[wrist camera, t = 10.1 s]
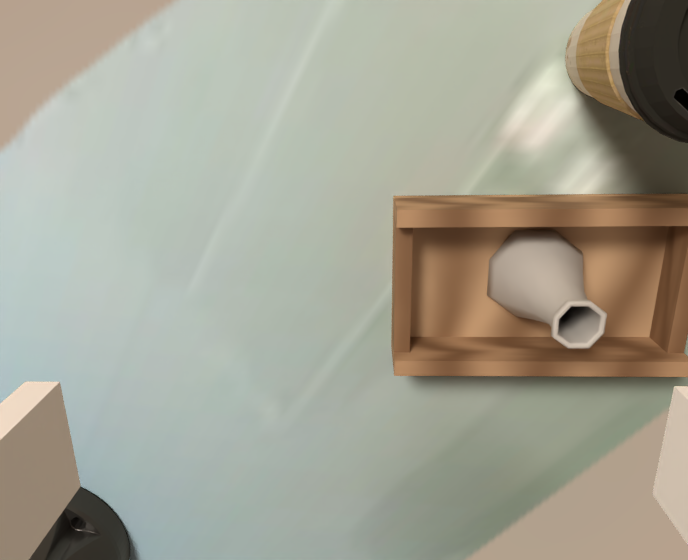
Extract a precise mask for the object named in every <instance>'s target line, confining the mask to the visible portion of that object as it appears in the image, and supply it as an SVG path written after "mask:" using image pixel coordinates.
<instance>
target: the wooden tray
mask: <svg viewBox="0 0 688 560" xmlns="http://www.w3.org/2000/svg"><path fill="white" fill-rule="evenodd" d="M514 230H555V231H556V232H558V233H559V234H560V235H561V236H563V237H564V238H565V239H567V240H568V241H569V242H570V243H572V244H573V245H574V246H576V247H577V248H578V249H580V250H581V251H582V252H583V282H584V292H585V294H586V296H587V299H588V300H590V301H591V302H593V303H594V304H595V305H597V306H598V307H599V308H601V309H602V310H603V311H605V312H606V313H607V318H606V325H605V332H604V334H603V335H602V336H601V337H600V338H599V339H598V340H597V341H596V342H595V343H594V344H593V345H592V346H591V347H590V348H589V349H568V348H566V347H565V346H564V345H562V344H561V343H560V342H558V341H557V340H556V339H554V338H553V337H552V336H551V326H550V325H549V324H547V323H544V322H540V321H536V320H533V319H527V318H522V317H517V316H514V315H513V314H512V313H510V312H509V311H508V310H506V309H505V308H503V307H502V306H501V305H499V304H498V303H497V302H495V301H494V300H492V299H491V298H490V297H488V296H487V285H488V271H489V260H490V258H491V257H492V256H493V255H494V254H495V253H496V251H497V250H498V249H499V248H500V247H501V246H502V244H503V243H504V242H505V241H506V240H507V239H508V237H509V236H510V235H511V234H512V233H513V232H514ZM687 335H688V194H575V195H449V196H394V198H393V269H392V340H391V347H392V357H393V367H394V376H602V377H688V356H686V355H685V354H684V350H685V345H686V340H687Z"/></svg>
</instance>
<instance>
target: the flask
mask: <svg viewBox="0 0 688 560" xmlns="http://www.w3.org/2000/svg"><path fill="white" fill-rule="evenodd" d="M487 296H488V297H490V298H491V299H492V300H494V301H495V302H497V303H498V304H499V305H501V306H502V307H503V308H505V309H506V310H508V311H509V312H510V313H512V314H513V315H514V316H517V317H522V318H527V319H533V320H536V321H540V322H544V323H547V324H549V325H550V326H551V336H552V337H553V338H554V339H556V340H557V341H558V342H560V343H561V344H562V345H564V346H565V347H566V348H568V349H589V348H590V347H591V346H592V345H593V344H594V343H595V342H596V341H597V340H598V339H599V338H600V337H601V336H602V335H603V334H604V332H605V325H606V318H607V313H606V312H605V311H603V310H602V309H601V308H599V307H598V306H597V305H595V304H594V303H593V302H591V301H590V300H588V299H587V296H586V294H585V292H584V282H583V252H582V251H581V250H580V249H578V248H577V247H576V246H574V245H573V244H572V243H570V242H569V241H568V240H567V239H565V238H564V237H563V236H561V235H560V234H559V233H558V232H556V231H555V230H514V232H513V233H512V234H511V235H510V236H509V237H508V239H507V240H506V241H505V242H504V243H503V244H502V246H501V247H500V248H499V249H498V250H497V251H496V253H495V254H494V255H493V256H492V257H491V258H490V260H489V271H488V285H487Z"/></svg>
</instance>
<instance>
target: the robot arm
mask: <svg viewBox="0 0 688 560" xmlns="http://www.w3.org/2000/svg"><path fill="white" fill-rule="evenodd" d="M652 494H653V496H654V497H655V499H656V500H657V502H658V503H659V505H660V506H661V507H662V509H663V510H664V512H665V513H666V515H667V516H668V517H669V518H670V520H671V522H672V523H673V525H674V526H675V527H676V529H677V530H678V532H679V533H680V535H681V536H682V537H683V539H684V540H685V542H686V543H687V545H688V386H674V390H673V395H672V400H671V405H670V410H669V415H668V420H667V425H666V429H665V435H664V439H663V444H662V449H661V454H660V459H659V464H658V469H657V474H656V479H655V483H654V488H653V493H652ZM129 557H130V547H129V541H128V537H127V534H126V532H125V529H124V527H123V525H122V524H121V522H120V520H119V519H118V517H117V516H116V515H115V514H114V512H113V511H112V510H111V509H110V508H109V507H108V506H107V505H106V504H105V503H104V502H102V501H101V500H100V499H99V498H97V497H96V496H95V495H93V494H91V493H90V492H88V491H86V490H85V489H83V488H80V481H79V476H78V471H77V466H76V461H75V456H74V451H73V446H72V441H71V436H70V431H69V426H68V421H67V416H66V411H65V406H64V401H63V396H62V391H61V386H60V382H25V383H23V384H22V385H21V386H20V387H19V388H18V389H17V390H15V391H14V392H13V393H12V394H11V395H10V396H9V397H7V398H6V399H5V400H4V401H3V402H2V403H1V404H0V560H129Z"/></svg>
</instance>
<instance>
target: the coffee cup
mask: <svg viewBox="0 0 688 560" xmlns="http://www.w3.org/2000/svg"><path fill="white" fill-rule="evenodd" d="M565 61H566V68H567V72H568V75H569V77H570V79H571V81H572V82H573V84H574V85H575V86H576V87H577V88H578V89H579V90H580V91H581V92H583V93H584V94H586V95H588V96H591V97H593V98H595V99H596V100H598V101H599V102H600V103H602V104H605V105H607V106H609V107H612V108H614V109H616V110H619V111H621V112H623V113H626V114H628V115H631V116H633V117H635V118H638V119H640V120H642V121H645V122H646V123H647V124H648V125H649V126H651V127H652V128H654V129H655V130H656V131H658V132H659V133H660V134H662V135H665V136H667V137H669V138H672V139H674V140H677V141H679V142H685V143H688V0H603V1H602V2H601V3H600V4H599V5H598V6H597V7H596V8H594V9H593V10H592V11H590V12H589V13H587V14H586V15H585V16H584V17H583V18H582V19H581V20H580V21H579V22H578V24H577V25H576V26H575V28H574V29H573V31H572V33H571V35H570V37H569V40H568V43H567V47H566V55H565Z"/></svg>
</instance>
